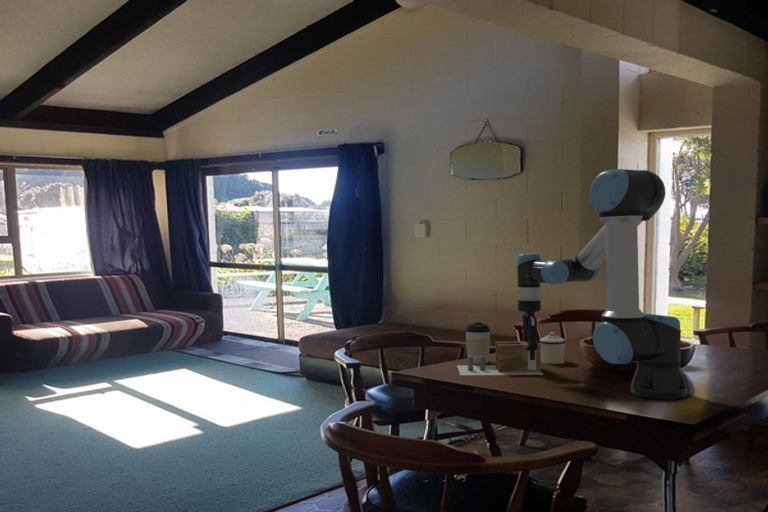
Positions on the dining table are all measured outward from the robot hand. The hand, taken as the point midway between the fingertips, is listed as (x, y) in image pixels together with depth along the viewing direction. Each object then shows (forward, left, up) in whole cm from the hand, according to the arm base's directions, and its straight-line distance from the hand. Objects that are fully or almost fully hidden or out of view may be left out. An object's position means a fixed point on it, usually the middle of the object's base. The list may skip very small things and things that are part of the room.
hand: (529, 367), depth 227 cm
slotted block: (0, +4, -1) cm, 4 cm away
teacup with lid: (+15, -10, -2) cm, 18 cm away
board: (0, +11, -2) cm, 11 cm away
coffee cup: (+14, +16, -2) cm, 21 cm away
